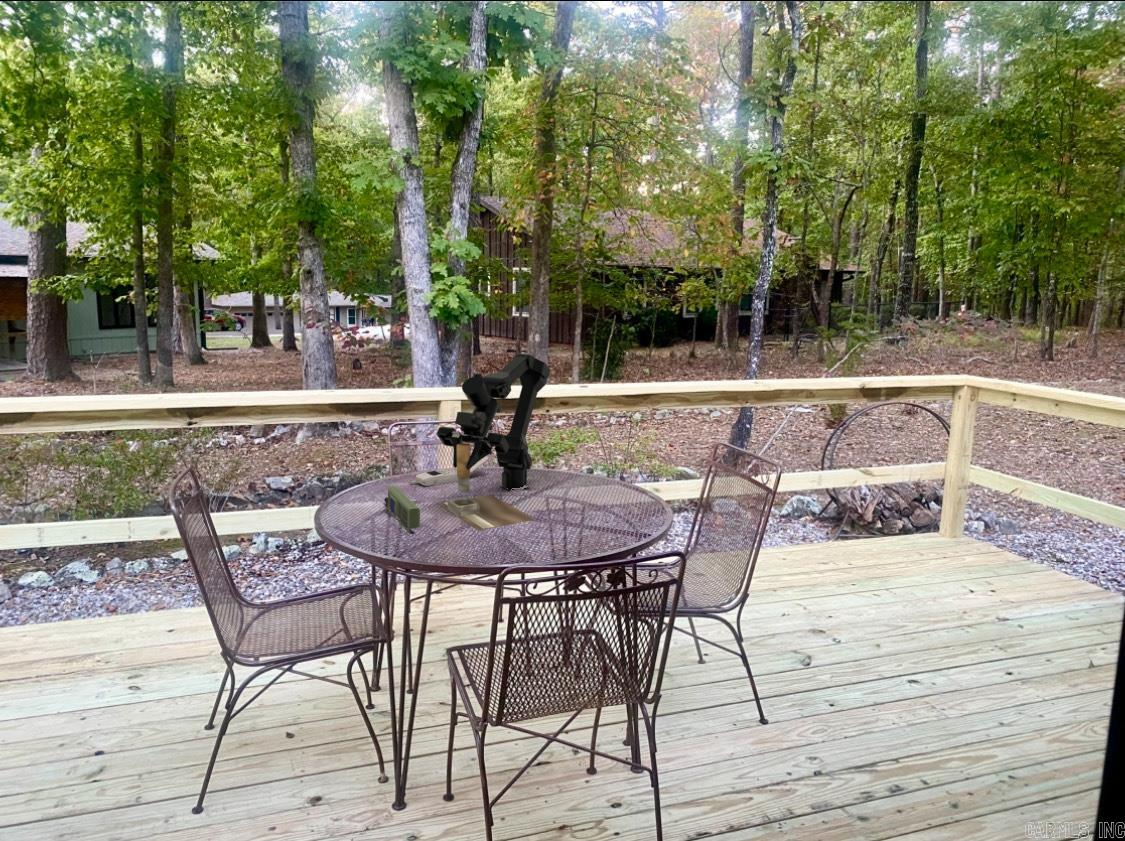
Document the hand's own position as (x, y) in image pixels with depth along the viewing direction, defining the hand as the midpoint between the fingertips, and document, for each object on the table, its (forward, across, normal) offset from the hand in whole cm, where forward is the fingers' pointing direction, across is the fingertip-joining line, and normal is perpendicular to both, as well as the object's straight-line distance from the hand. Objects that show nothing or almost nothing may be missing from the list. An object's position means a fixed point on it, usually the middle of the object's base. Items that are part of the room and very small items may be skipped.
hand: (460, 467), depth 184 cm
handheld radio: (+14, -14, +6) cm, 21 cm away
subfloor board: (+7, +5, +12) cm, 15 cm away
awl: (+4, 0, +6) cm, 7 cm away
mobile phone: (-10, -21, +30) cm, 38 cm away
